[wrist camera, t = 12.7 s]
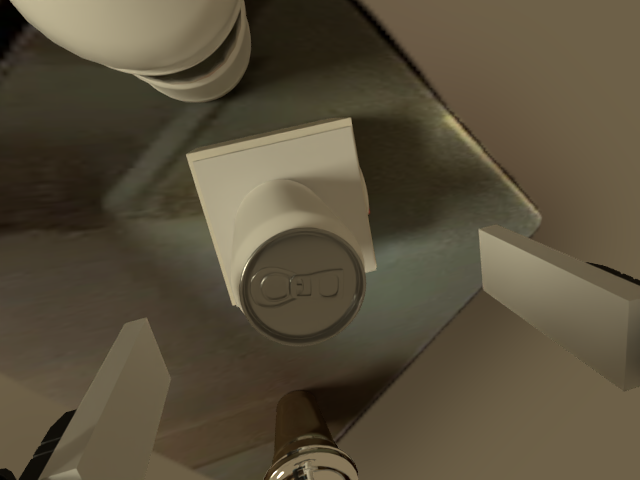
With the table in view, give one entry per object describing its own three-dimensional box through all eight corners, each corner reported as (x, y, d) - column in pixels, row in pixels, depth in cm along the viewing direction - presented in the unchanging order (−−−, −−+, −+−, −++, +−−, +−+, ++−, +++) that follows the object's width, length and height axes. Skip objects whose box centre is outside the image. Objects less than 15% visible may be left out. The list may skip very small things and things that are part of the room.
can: (233, 178, 27) (225, 220, 16) (326, 177, 29) (379, 215, 17) (237, 267, 29) (232, 361, 18) (324, 263, 30) (371, 349, 19)
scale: (197, 147, 35) (182, 156, 26) (340, 115, 36) (367, 114, 28) (234, 273, 38) (232, 314, 30) (362, 240, 40) (392, 271, 32)
